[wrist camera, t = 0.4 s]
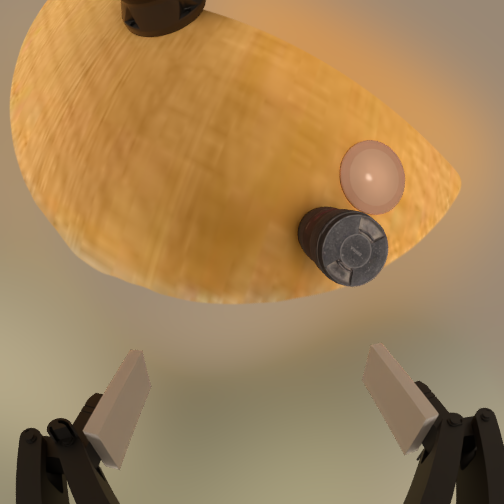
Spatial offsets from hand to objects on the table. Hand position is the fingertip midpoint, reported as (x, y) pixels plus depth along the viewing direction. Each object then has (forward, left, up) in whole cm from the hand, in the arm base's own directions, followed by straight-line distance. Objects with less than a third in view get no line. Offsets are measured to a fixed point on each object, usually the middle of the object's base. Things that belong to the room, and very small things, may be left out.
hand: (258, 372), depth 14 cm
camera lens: (-3, +11, -28) cm, 31 cm away
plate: (-11, +21, -28) cm, 37 cm away
